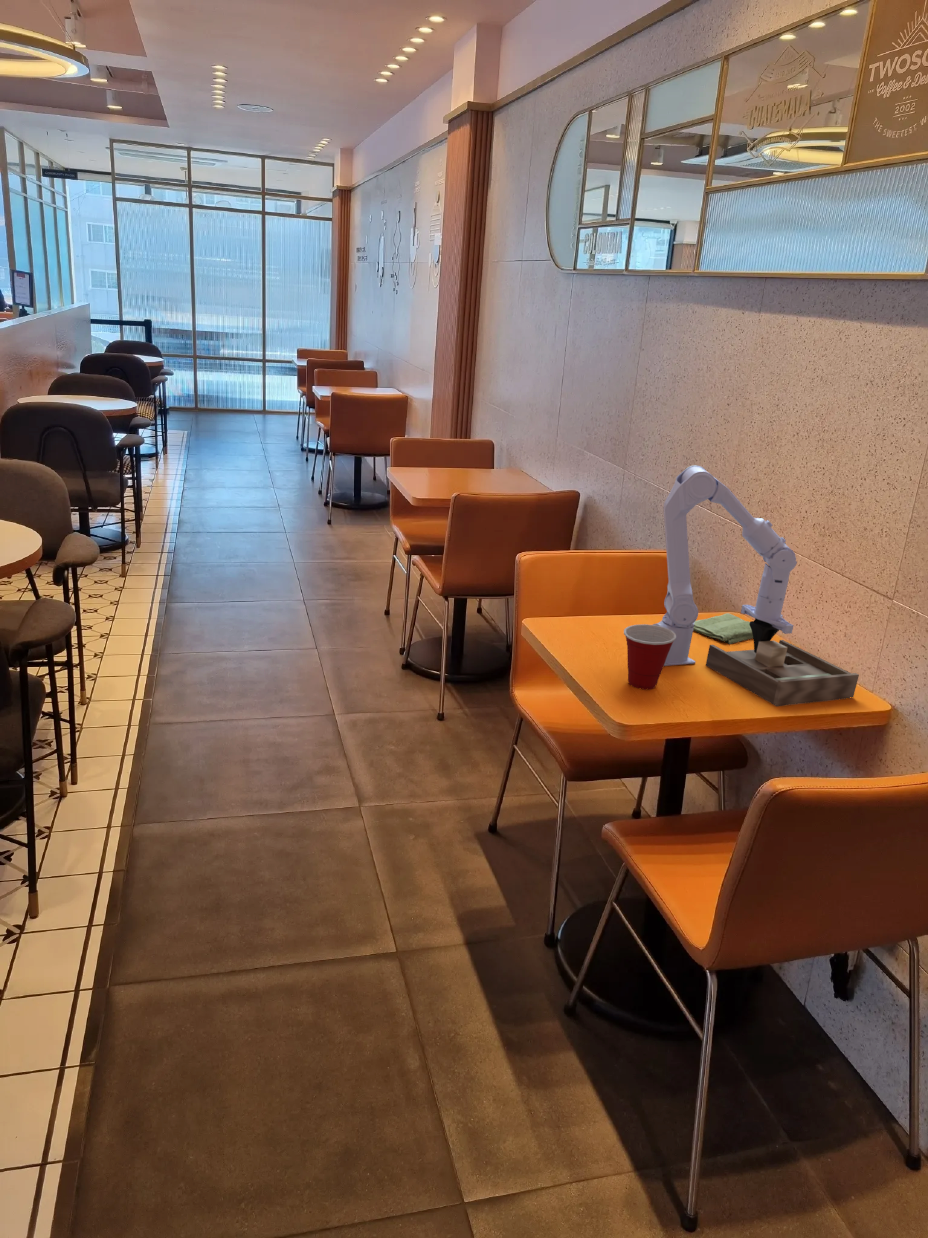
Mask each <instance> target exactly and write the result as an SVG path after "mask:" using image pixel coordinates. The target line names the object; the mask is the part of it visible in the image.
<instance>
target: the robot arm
mask: <svg viewBox="0 0 928 1238" xmlns="http://www.w3.org/2000/svg"><path fill="white" fill-rule="evenodd" d="M707 500H708V501H709V502H710V503H714V504H718V505H719V504H720V505H721V507H723V508H724V509H725V510H726V511H727V512H728V514H729V515H730V516H732V518H733V519H735V521H737V523H738V524H739V525H740V526H741V527H742V531H741V532H742V533H741V536H742V537H743V539H744V540H745V541H746V542H747V543H748V544H749V545H750V546H751V547H752V549H754V551H755V552H756V553H757V554H758V555H759V556H760V557H762V558H763V559H762V560H763V562H765V563H764V567H763V571H762V574H761V580H760V584H759V589H758V592H757V597H756V603H755V606H753V605H750V604H742V605H741V609H740V613H741V614H743V615H747V616H749V617H751V618H754V620H752V621H749V622H750V624H749V625H750V627H751V630H752V634H753V638H752V639H753V650H754V652H755V653H756V652H757V648H758V643H759V641H772V639H773V638H774V636H775V635H776V634H777V633H778V632H779V631H781V632H782V634H786V635H788V634H792V633H793V629H794V624H792V623H790V622H789V621H787V620H786V619H785V618H784V617H783V615H784V614H782V611H783V606H784V603H785V602H784V601H785V600H786V599H785V598H786V593H787V589H788V584H789V581H790V575H791V572H792V570H794V569H795V568H796V566H797V563H798V561H797V557H796V556H797V555H796V553H795V551H794V550H793V549H792V548H791V547H789V546H788V545H787V543H786V542H787V540H786V539H785V538H784V537H783V536H780V535H779V534H777V532H776V531H775V530H774V529H773V528H772V527H773V523H772V522H771V521H769V519H767V520H765V519H764V518H761V517H754V516H753V515H752V514H751V513H750V511H748V509H747V508H746V507H745V506H744V504H742V502H741V501H740V499H738V497H736V495H735V494H734V493H733V492H732V491H731V489H730V488H729V487H727V486H726V485H725V484H724V483H723V482H721V481H720V480H718V478H716V477H715V476H714V475H713V474H711V473H710V472H708V471H707V470H706V469H705V468H704V467H703V466H701V465H696V464H694V465H689V466H688V467H686V468H685V469H684V470H683V471H681V473H679V474H678V475H677V476H676V477H675V481H674V483H673V485H672V487H671V490H670V492H669V493H668V495H667V497H666V499H665V501H664V502H663V520H664V537H665V549H666V550H665V551H666V564H667V566H666V567H667V578H668V580H667V581H668V583H667V585H666V587H667V593H666V595H665V598H664V603H663V604H664V608H665V611H666V613H664V615H663V616H662V619H661V620H660V621H659V622H657V623H653V624H652V625H656V626H660V627H665V628H667V629H669V630H672V631H673V632H674V633H675V634H676V639H675V640H674V641H673V643H672V646H671V648H670V651H669V652H668V655H667V658H666V661H665V664H664V666H663V667H667V666H678V665H680V666H681V665H690V664H691V665H692V664H693V665H694V664H696V660H695V659H692V658H690V657H689V654H690V648H691V643H692V639H693V633H694V631H693V628H694V622H695V621H697V620H698V617H699V608H698V607H697V605H696V603H695V601H694V595H693V594H694V593H693V589H692V584H691V571H690V569H691V568H690V555H689V553H690V552H689V540H688V522H687V515H688V514H689V512H690V511H691V510H692V509H694V507H696V506H697V505H698V504H699V505H700V504H701V503H702V502H703V503H704V502H705V501H707Z"/></svg>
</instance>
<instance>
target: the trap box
mask: <svg viewBox="0 0 928 1238" xmlns="http://www.w3.org/2000/svg"><path fill="white" fill-rule="evenodd" d="M778 643H780V644H782V645H784V646H786V647H788V648H787V652H786V656H785V660H784V665H783V666H773V667H768V666H766V665H764V664H762V663H760V662H758V661H757V660H755V657H756V653H755V652H754V649H748V650H746V649H745V650H731V651H726V650H724V649H722V648H720V647H718V646H716V645H714V644H709V646H708V652H707V656H706V661H705V666H706V667H707V668H710V669H711V670H713V671H715V672H716V673H718V674H720V675H721V676H724V677H725V678H727V679H728V680H730V681H732V682H734V683H735V684H737V685H739V686H740V687H742V688H744V689H745V690H747V691H749V692H751V693H752V694H755V696H758V697H759V698H761V699H763V700H764V701H766V702H767V703H770V704H772V705H773V706H775V707H784V706H793V705H800V704H801V705H803V704H811V703H821V702H830V701H837V700H839V699H840V700H847V699H846V698H849V699H851V698H850V697H853V698H854V696H855V693H856V688H857V684H858V681H859V677H860V674H859V673H856V672H852V673H851V672H849V671H847V670H846V669H843V668H841V667H840V666H838V665H835V664H833V663H831V662H829V661H827V660H824V659H823V658H821V657H819V656H816V655H815V654H813V653H811V652H809V651H807V650H805V649H802V648H801V647H798V646H797V645H794V644H792V643H790V642H788V641H786V640H785V639H779V642H778ZM840 700H839V701H840Z"/></svg>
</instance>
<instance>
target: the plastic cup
mask: <svg viewBox="0 0 928 1238" xmlns="http://www.w3.org/2000/svg"><path fill="white" fill-rule="evenodd" d="M623 635H624V636H625V640H626V646H627V654H626V655H627V681H628V682H629V683H628V684H629V685H630V686H631V685H632V686H631V687H633V688H635V687H636V689H638V688H641V689H640V690H644V691H645V690H646V689H647V690H653V689H655V688H656V686H657V684H658V683H659V679H660V675H661V674H662V672H663V669H664V667H665V666H664V664H665V661H666V658H667V655H668V652H669V651H670V648H671V646H672V643H673V641H674V640H675V639H676V634H675V633H674V632H673V631H672V630H669V629H667V628H665V627H660V626H656V625H653V624H646V623H644V624H643V623H642V624H633V625H628V626H627V627H625V628H624V629H623ZM647 690H646V691H647Z"/></svg>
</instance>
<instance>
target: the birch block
mask: <svg viewBox="0 0 928 1238" xmlns="http://www.w3.org/2000/svg"><path fill="white" fill-rule="evenodd" d="M787 648H788V647H786V646H784V645H782V644H780V643H779V642H778V641H776V640H770V641H759V643H758V648H757V652H756V657H755V660H757V661H758V662H760V663H762V664H764V665H766V666H768V667H773V666H783V665H784V660H785V656H786V652H787Z"/></svg>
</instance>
